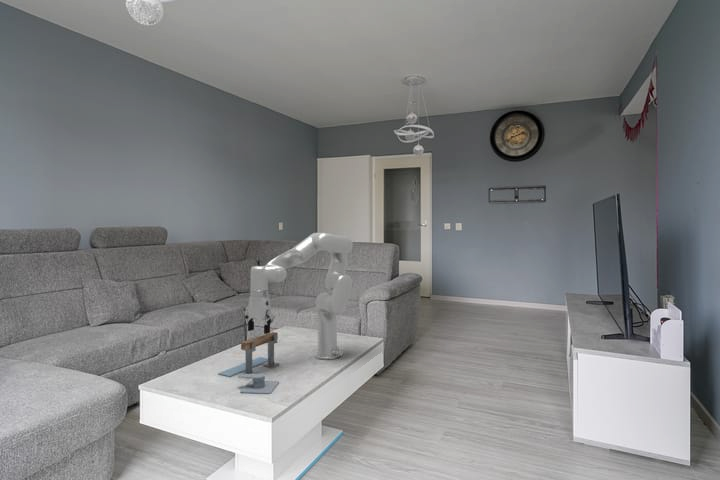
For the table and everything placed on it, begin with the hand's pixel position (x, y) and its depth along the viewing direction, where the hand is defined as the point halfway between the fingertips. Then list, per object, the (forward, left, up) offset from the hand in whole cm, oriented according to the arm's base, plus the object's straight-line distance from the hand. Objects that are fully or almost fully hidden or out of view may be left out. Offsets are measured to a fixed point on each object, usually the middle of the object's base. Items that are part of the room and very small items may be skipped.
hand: (258, 331), depth 187 cm
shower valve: (-13, +15, -18) cm, 27 cm away
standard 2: (0, -8, -18) cm, 19 cm away
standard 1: (0, +7, -18) cm, 19 cm away
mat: (+9, -1, -18) cm, 20 cm away
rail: (0, -1, -6) cm, 6 cm away
